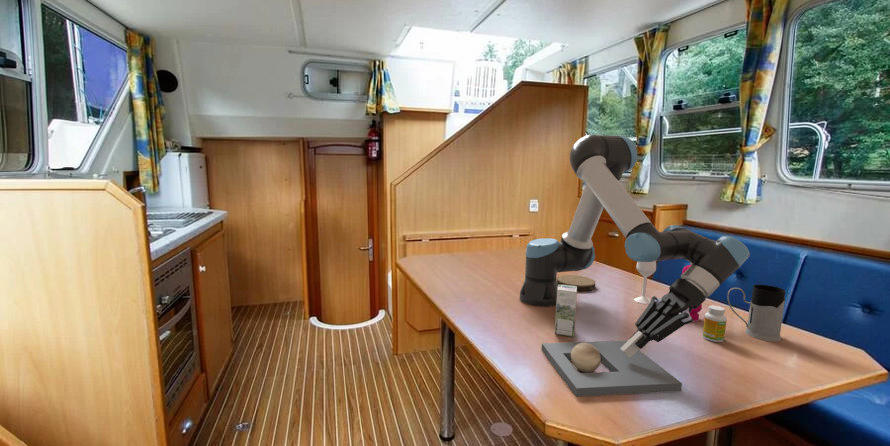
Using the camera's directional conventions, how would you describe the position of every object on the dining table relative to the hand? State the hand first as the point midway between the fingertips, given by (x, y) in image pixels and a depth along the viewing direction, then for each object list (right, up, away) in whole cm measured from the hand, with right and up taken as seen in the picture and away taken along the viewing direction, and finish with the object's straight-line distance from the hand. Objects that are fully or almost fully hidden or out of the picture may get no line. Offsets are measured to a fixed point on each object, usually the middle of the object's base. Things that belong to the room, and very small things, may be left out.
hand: (625, 353), depth 97 cm
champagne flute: (+31, +3, +52) cm, 60 cm away
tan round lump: (-10, -1, -1) cm, 10 cm away
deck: (-5, -4, 0) cm, 7 cm away
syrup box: (-8, -1, +22) cm, 24 cm away
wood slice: (+11, +5, +70) cm, 71 cm away
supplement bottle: (+35, -2, +19) cm, 40 cm away
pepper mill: (+38, 0, +35) cm, 52 cm away
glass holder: (+50, -2, +23) cm, 55 cm away
